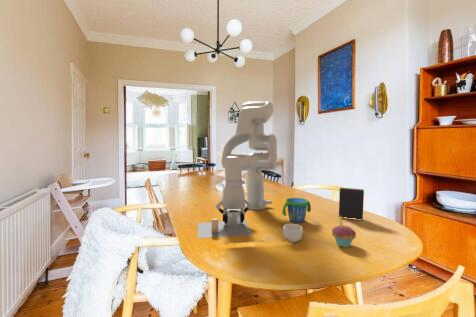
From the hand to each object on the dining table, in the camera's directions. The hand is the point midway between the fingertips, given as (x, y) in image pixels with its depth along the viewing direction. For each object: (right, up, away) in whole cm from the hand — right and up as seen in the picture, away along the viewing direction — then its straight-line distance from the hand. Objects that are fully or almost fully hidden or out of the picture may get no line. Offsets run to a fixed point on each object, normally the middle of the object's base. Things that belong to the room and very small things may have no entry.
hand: (233, 222), depth 119 cm
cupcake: (+42, -4, -19) cm, 46 cm away
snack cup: (+31, -2, +10) cm, 32 cm away
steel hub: (0, -1, 0) cm, 1 cm away
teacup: (+24, -4, -13) cm, 28 cm away
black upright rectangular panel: (+59, -1, +13) cm, 60 cm away
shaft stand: (-4, -3, -5) cm, 7 cm away
